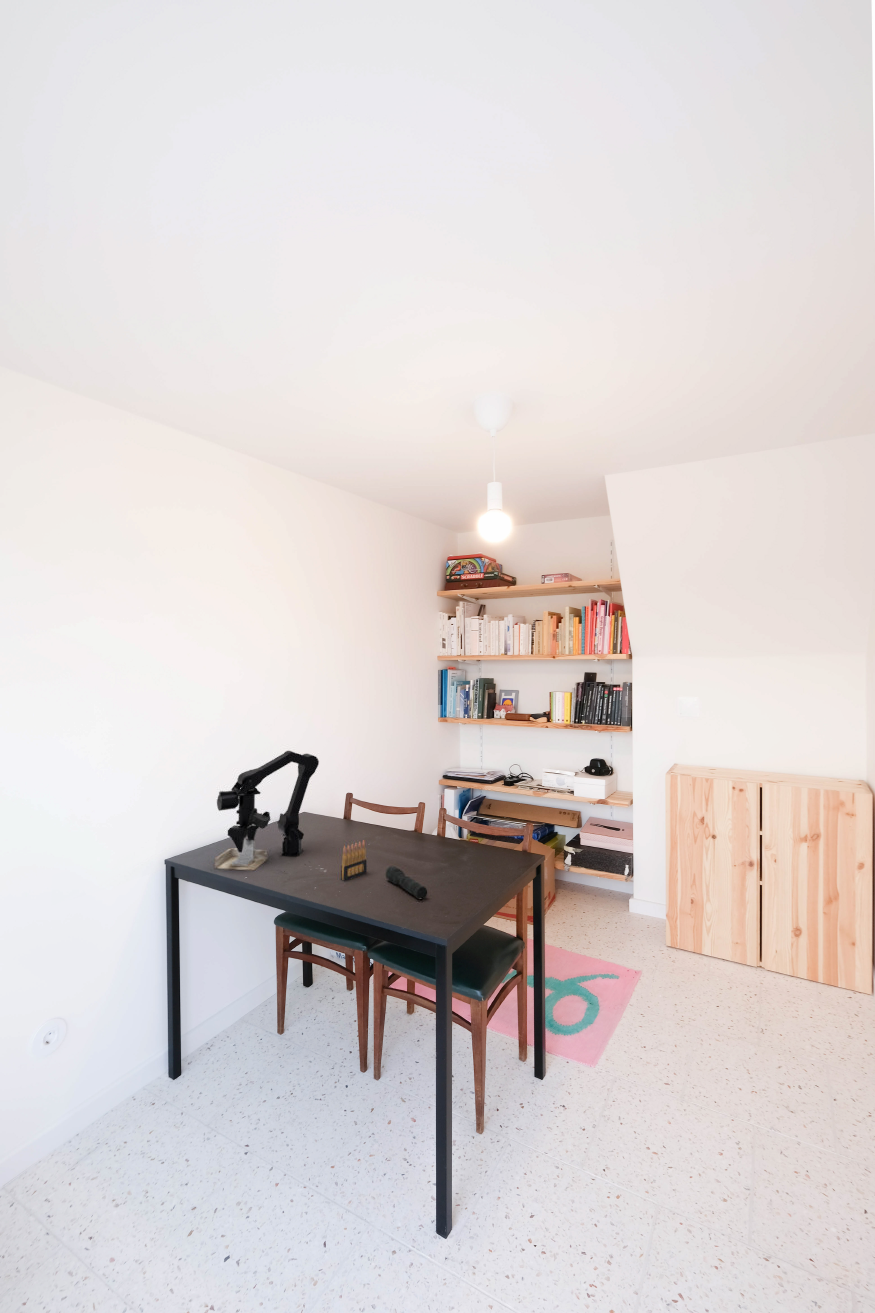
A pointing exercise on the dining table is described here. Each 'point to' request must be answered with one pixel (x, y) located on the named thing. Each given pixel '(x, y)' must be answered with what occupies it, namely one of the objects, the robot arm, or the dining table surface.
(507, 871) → the dining table surface
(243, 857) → the bracket
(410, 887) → the flashlight
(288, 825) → the robot arm
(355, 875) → the ammunition clip
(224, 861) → the tray
